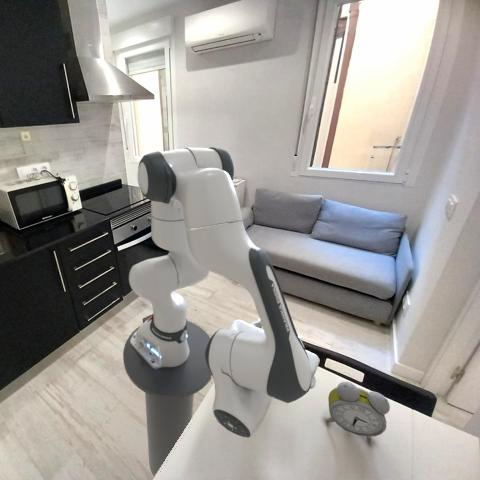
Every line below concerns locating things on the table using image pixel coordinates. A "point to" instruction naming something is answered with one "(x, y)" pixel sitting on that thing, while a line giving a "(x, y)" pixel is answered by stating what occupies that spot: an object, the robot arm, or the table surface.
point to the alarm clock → (358, 410)
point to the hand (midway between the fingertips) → (279, 329)
